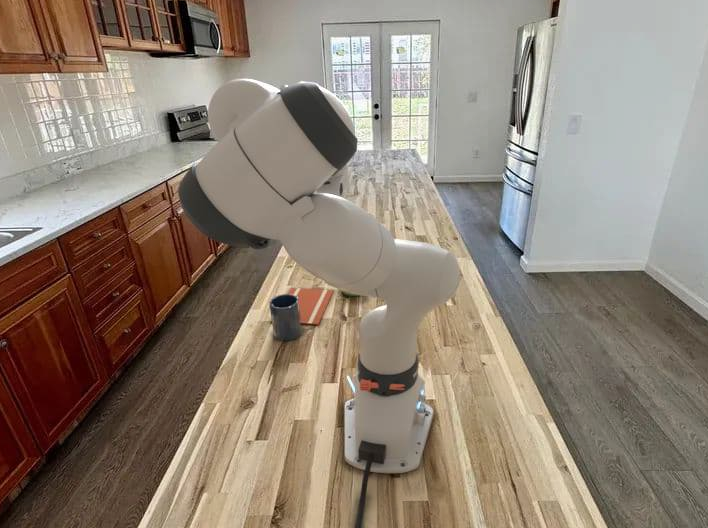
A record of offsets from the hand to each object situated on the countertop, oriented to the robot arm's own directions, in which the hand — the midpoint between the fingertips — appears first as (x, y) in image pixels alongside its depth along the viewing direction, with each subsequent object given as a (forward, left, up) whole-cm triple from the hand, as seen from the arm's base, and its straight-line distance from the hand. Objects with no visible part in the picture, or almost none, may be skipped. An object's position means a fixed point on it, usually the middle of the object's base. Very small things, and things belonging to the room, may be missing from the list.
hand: (335, 236), depth 106 cm
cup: (-1, +15, -29) cm, 32 cm away
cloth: (+14, +14, -29) cm, 35 cm away
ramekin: (+25, +1, -29) cm, 38 cm away
